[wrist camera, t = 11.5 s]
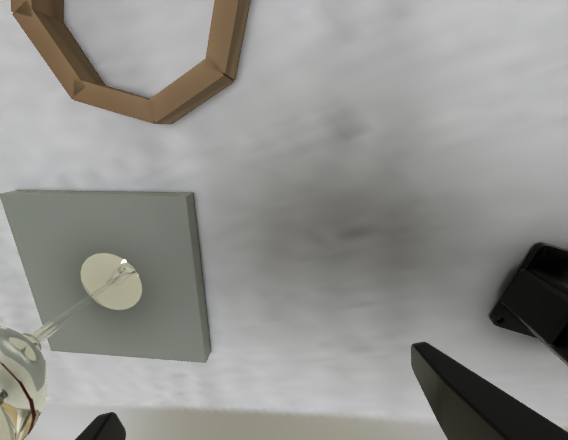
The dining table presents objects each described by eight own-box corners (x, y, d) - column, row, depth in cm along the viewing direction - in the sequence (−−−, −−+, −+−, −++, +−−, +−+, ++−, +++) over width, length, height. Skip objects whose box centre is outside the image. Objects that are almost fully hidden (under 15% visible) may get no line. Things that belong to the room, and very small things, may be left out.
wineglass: (168, 276, 20) (-13, 457, 9) (131, 333, 23) (-53, 539, 11) (88, 224, 20) (-215, 348, 8) (57, 288, 22) (-218, 457, 11)
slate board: (193, 192, 20) (185, 196, 18) (210, 351, 24) (205, 362, 23) (16, 190, 21) (-1, 193, 20) (63, 340, 25) (51, 350, 24)
